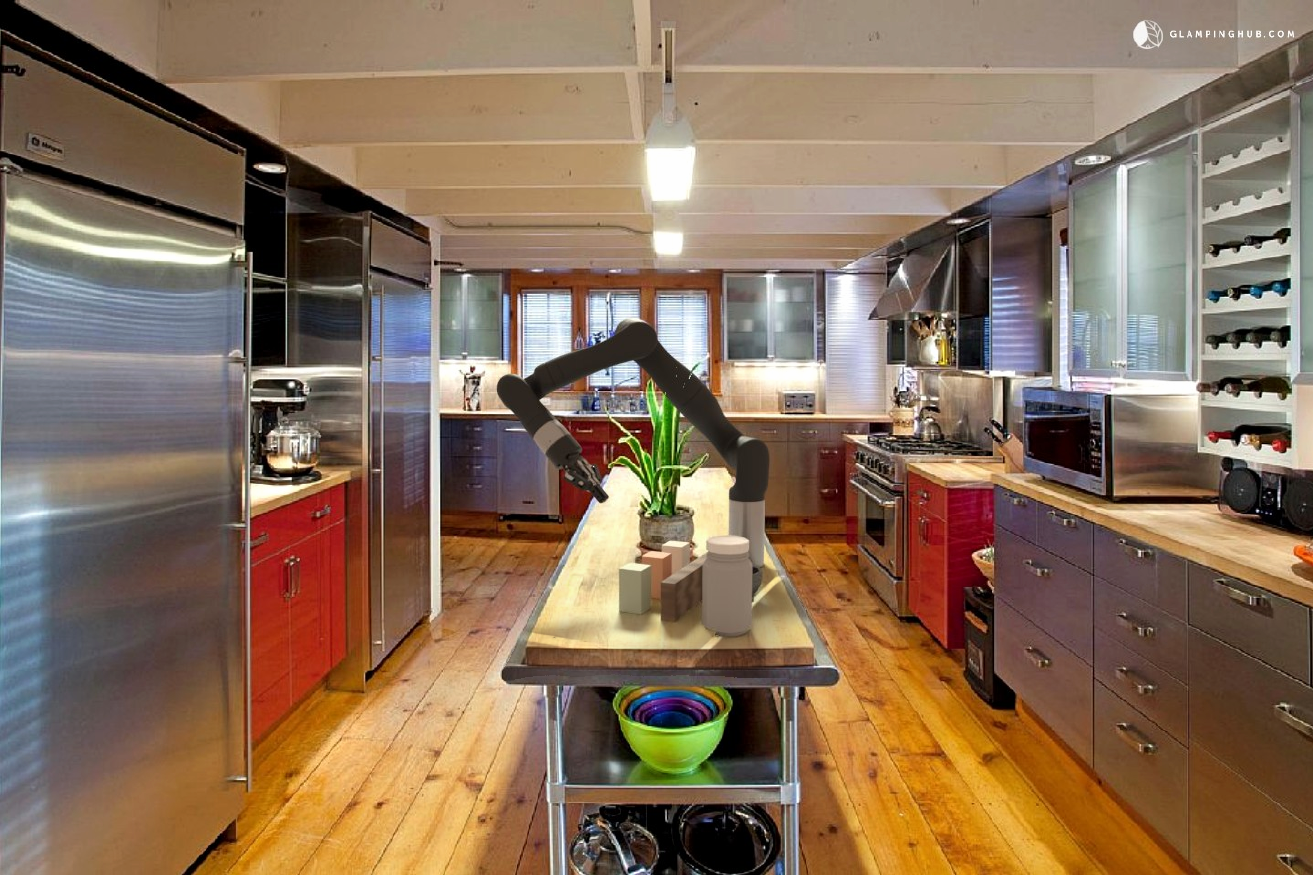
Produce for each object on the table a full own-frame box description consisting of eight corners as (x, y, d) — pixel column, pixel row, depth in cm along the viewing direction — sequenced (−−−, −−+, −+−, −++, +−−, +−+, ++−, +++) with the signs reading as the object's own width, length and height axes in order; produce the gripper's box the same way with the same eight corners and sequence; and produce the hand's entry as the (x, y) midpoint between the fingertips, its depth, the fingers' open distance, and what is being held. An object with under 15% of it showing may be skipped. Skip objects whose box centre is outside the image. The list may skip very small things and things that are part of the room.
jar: (747, 621, 156) (748, 534, 155) (755, 638, 147) (756, 545, 145) (699, 621, 156) (700, 534, 154) (704, 638, 146) (705, 545, 145)
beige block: (670, 577, 183) (670, 540, 182) (689, 580, 181) (689, 542, 180) (661, 583, 178) (661, 545, 178) (681, 585, 176) (681, 547, 176)
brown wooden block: (655, 579, 186) (655, 542, 185) (723, 587, 179) (724, 550, 178) (596, 616, 159) (596, 574, 158) (674, 628, 152) (674, 583, 151)
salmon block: (651, 590, 173) (651, 550, 172) (671, 592, 171) (671, 553, 170) (641, 596, 168) (641, 556, 168) (662, 599, 166) (662, 558, 166)
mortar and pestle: (716, 593, 175) (717, 541, 174) (757, 593, 175) (758, 541, 174) (721, 609, 164) (722, 554, 163) (765, 609, 164) (766, 554, 163)
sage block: (629, 604, 163) (629, 562, 162) (651, 607, 161) (651, 565, 160) (619, 611, 158) (618, 568, 158) (641, 614, 156) (641, 571, 156)
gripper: (552, 435, 169) (601, 494, 166) (581, 430, 181) (628, 485, 178) (531, 458, 172) (580, 516, 168) (562, 451, 184) (608, 506, 180)
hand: (605, 500), depth 173 cm, fingers closed
